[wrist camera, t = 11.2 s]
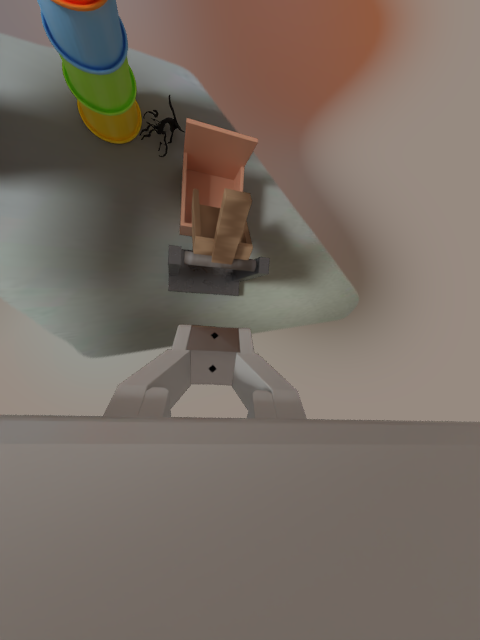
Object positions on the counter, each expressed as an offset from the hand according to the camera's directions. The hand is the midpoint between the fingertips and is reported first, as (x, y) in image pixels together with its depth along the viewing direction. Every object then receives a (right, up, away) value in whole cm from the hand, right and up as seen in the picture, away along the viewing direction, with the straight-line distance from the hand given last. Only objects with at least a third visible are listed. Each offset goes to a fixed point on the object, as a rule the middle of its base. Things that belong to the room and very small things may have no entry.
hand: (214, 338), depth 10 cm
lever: (-3, +14, +27) cm, 31 cm away
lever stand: (-6, +11, +39) cm, 41 cm away
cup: (-6, +25, +38) cm, 45 cm away
